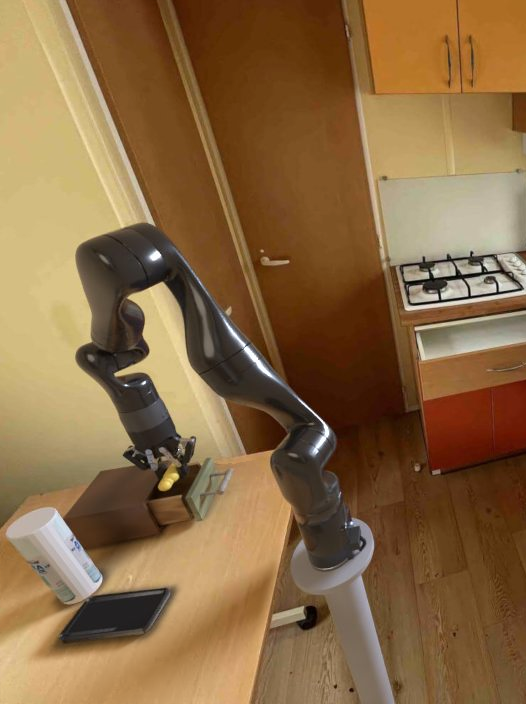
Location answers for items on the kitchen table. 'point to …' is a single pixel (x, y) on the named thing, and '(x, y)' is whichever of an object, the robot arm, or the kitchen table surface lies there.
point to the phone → (115, 615)
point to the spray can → (55, 554)
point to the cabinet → (115, 507)
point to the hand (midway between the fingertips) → (175, 476)
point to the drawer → (188, 494)
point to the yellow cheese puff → (169, 478)
